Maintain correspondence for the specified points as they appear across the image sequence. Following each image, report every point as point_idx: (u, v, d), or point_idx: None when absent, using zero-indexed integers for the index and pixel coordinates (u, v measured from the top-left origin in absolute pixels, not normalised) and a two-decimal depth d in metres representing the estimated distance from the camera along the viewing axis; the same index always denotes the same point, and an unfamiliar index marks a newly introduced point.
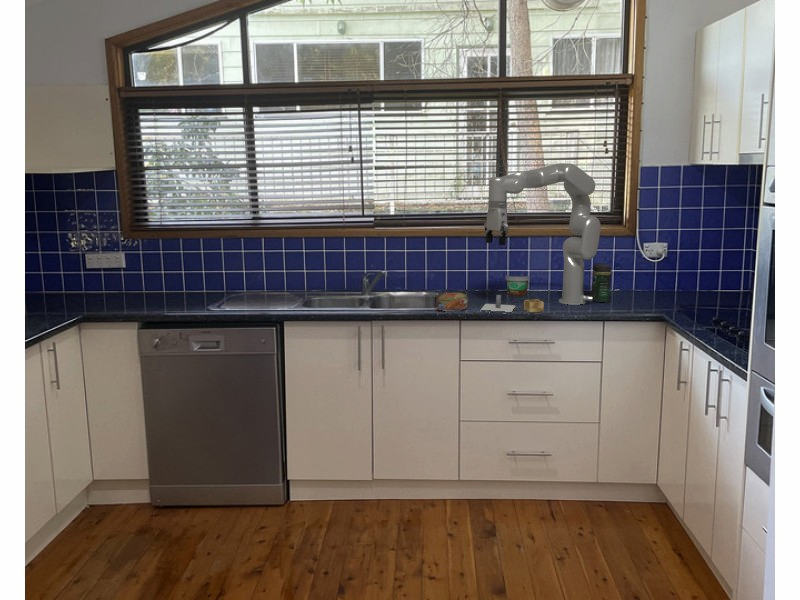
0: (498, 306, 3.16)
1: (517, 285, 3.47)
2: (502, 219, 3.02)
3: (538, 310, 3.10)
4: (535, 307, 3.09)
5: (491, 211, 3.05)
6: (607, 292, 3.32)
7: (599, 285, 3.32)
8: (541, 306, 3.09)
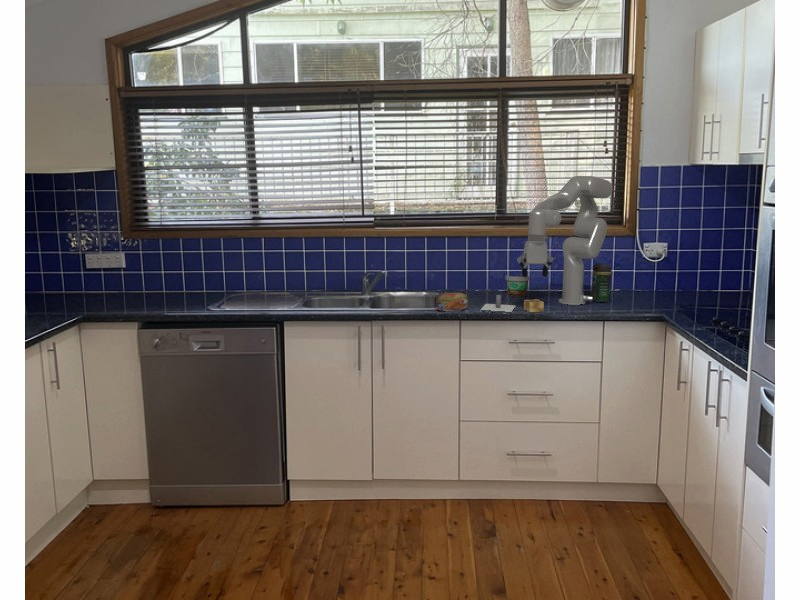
0: (498, 306, 3.16)
1: (517, 285, 3.47)
2: None
3: (538, 310, 3.10)
4: (535, 307, 3.09)
5: (537, 244, 3.04)
6: (607, 292, 3.32)
7: (599, 285, 3.32)
8: (541, 306, 3.09)
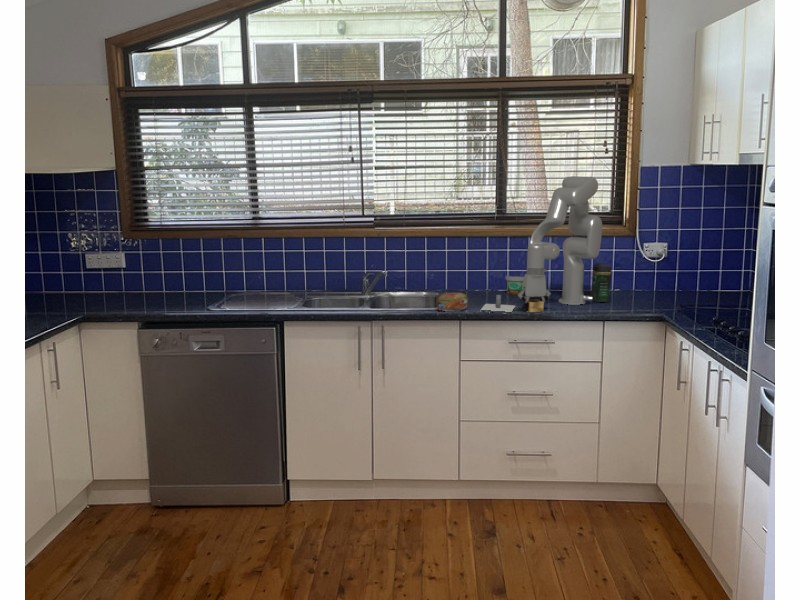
0: (498, 306, 3.16)
1: (517, 285, 3.47)
2: None
3: (538, 310, 3.09)
4: (535, 307, 3.09)
5: (536, 278, 3.07)
6: (607, 292, 3.32)
7: (599, 285, 3.32)
8: (541, 306, 3.09)
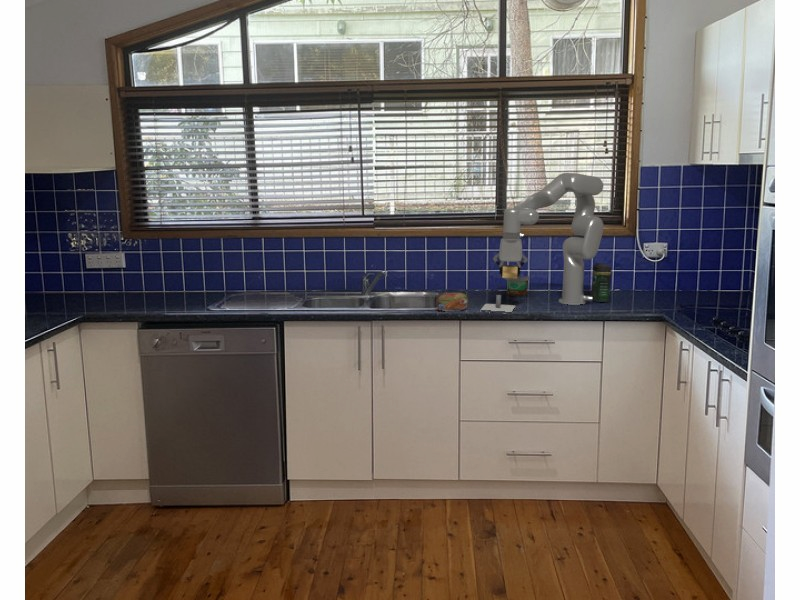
0: (498, 306, 3.16)
1: (517, 285, 3.47)
2: None
3: (511, 275, 3.09)
4: (508, 271, 3.09)
5: (509, 242, 3.07)
6: (607, 292, 3.32)
7: (599, 285, 3.32)
8: (515, 271, 3.08)
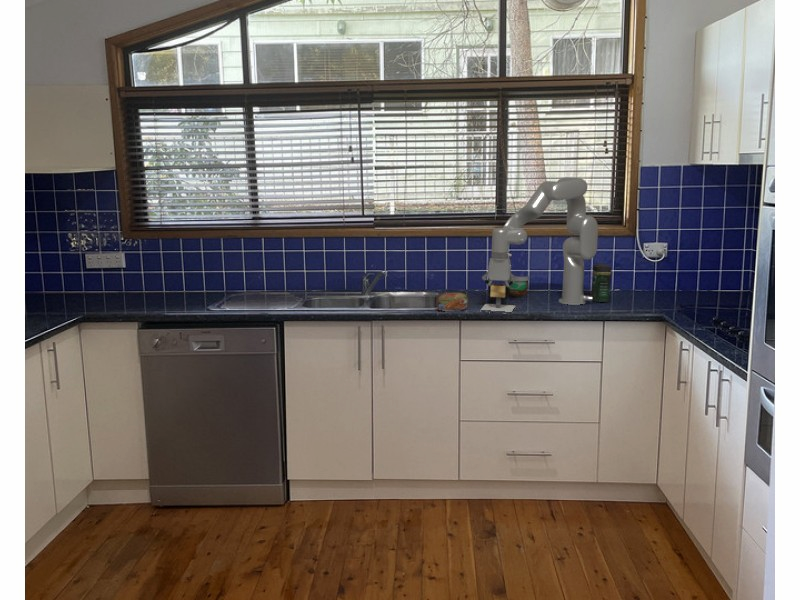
0: (498, 306, 3.16)
1: (517, 285, 3.47)
2: (510, 269, 3.12)
3: (499, 294, 3.12)
4: (496, 290, 3.12)
5: (497, 262, 3.10)
6: (607, 292, 3.32)
7: (599, 285, 3.32)
8: (502, 290, 3.11)
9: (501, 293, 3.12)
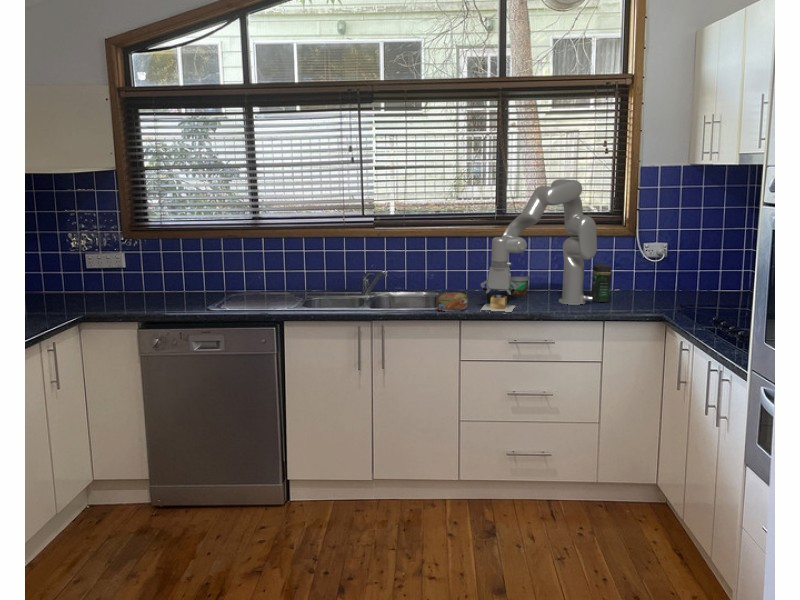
0: None
1: None
2: (510, 277, 3.12)
3: (499, 306, 3.13)
4: (496, 302, 3.13)
5: (497, 270, 3.11)
6: (607, 292, 3.32)
7: (599, 285, 3.32)
8: (502, 302, 3.12)
9: (501, 305, 3.13)
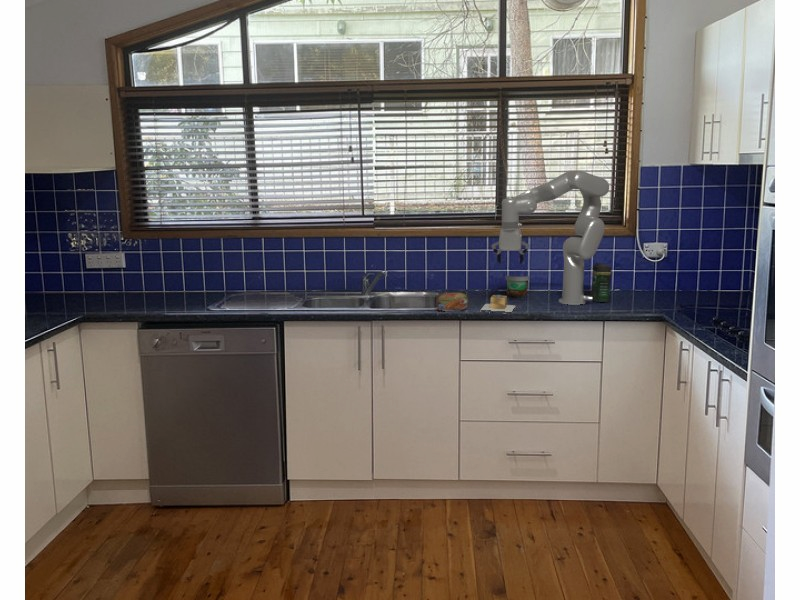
0: None
1: (517, 285, 3.47)
2: (521, 238, 3.14)
3: (499, 306, 3.13)
4: (496, 302, 3.13)
5: (508, 232, 3.13)
6: (607, 292, 3.32)
7: (599, 285, 3.32)
8: (502, 302, 3.12)
9: (501, 305, 3.13)
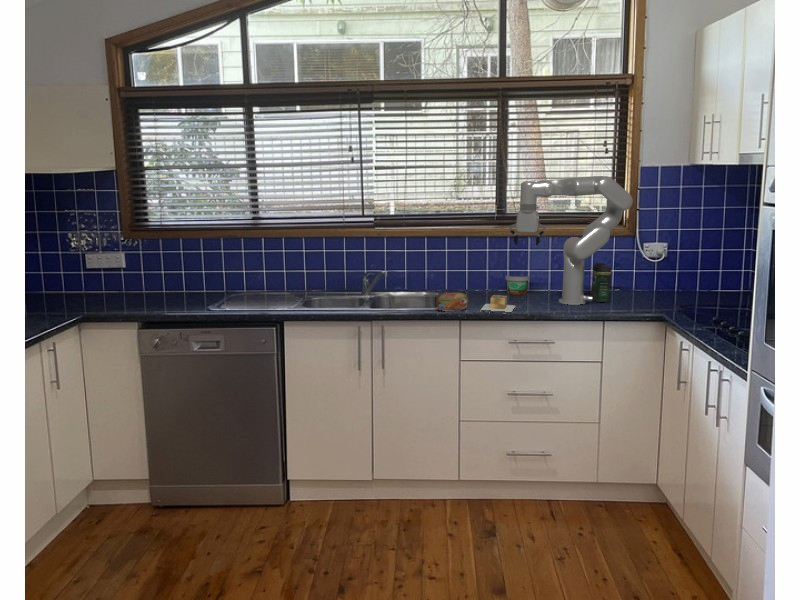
0: None
1: (517, 285, 3.47)
2: (538, 221, 3.22)
3: (499, 306, 3.13)
4: (496, 302, 3.13)
5: (525, 213, 3.21)
6: (607, 292, 3.32)
7: (599, 285, 3.32)
8: (502, 302, 3.12)
9: (501, 305, 3.13)
